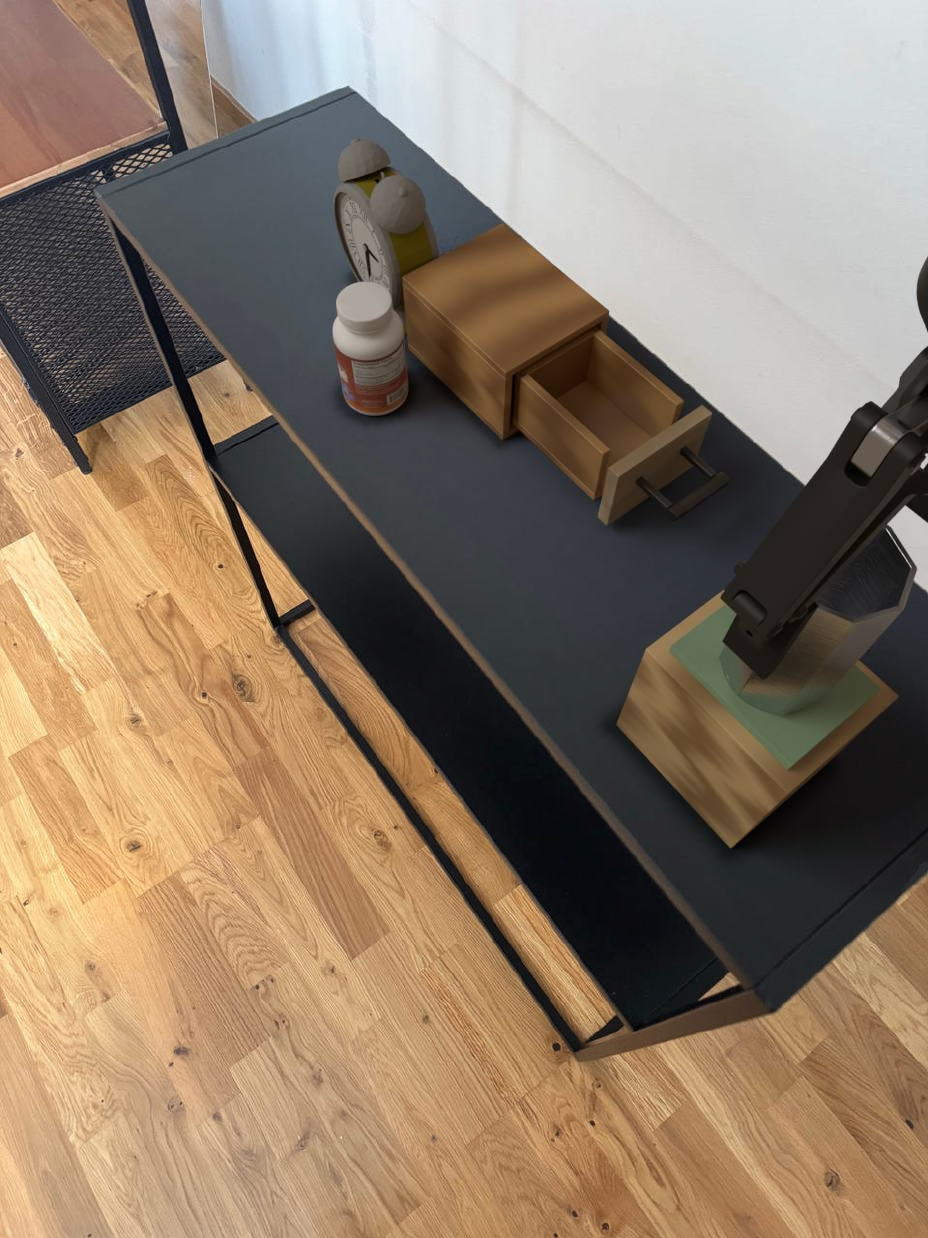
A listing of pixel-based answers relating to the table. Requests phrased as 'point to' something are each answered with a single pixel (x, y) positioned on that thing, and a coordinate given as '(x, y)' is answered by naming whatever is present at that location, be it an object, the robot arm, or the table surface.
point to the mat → (775, 732)
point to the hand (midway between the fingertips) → (839, 582)
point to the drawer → (612, 426)
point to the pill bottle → (370, 349)
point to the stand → (720, 740)
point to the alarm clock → (381, 220)
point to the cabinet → (492, 319)
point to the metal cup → (832, 631)
